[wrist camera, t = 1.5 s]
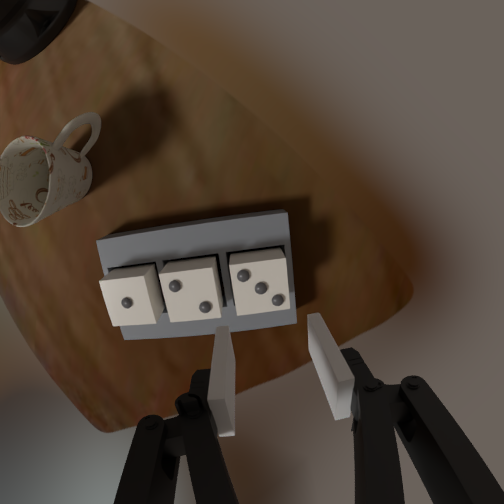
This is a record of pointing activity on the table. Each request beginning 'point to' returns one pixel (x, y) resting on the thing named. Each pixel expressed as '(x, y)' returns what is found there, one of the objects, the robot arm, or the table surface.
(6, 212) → the mug
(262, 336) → the table surface
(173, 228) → the board
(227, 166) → the table surface
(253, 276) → the white block with dots
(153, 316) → the white block
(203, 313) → the white die
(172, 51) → the table surface
